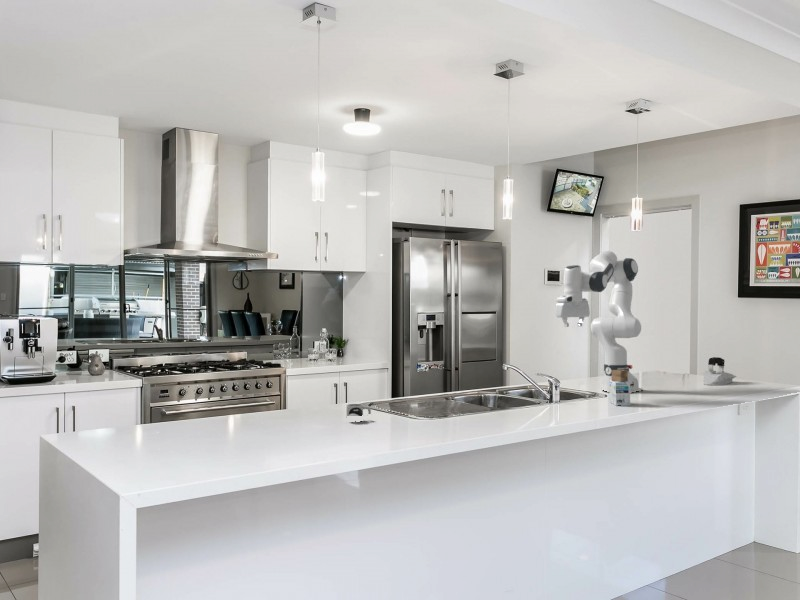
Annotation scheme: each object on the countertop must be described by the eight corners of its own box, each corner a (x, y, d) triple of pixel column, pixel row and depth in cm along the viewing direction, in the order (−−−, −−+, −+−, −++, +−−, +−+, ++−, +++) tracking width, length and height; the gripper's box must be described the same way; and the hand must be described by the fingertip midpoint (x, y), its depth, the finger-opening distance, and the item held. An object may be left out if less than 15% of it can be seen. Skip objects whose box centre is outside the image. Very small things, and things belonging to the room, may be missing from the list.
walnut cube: (618, 380, 322) (618, 369, 322) (627, 381, 318) (627, 370, 318) (611, 381, 319) (611, 370, 319) (620, 382, 315) (620, 371, 315)
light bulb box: (630, 406, 313) (630, 382, 313) (615, 406, 314) (615, 382, 314) (623, 402, 324) (623, 379, 324) (609, 402, 324) (609, 379, 324)
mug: (348, 423, 276) (348, 406, 276) (345, 420, 283) (345, 404, 283) (372, 421, 279) (372, 405, 279) (369, 419, 285) (368, 403, 285)
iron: (736, 382, 397) (736, 356, 397) (719, 386, 381) (718, 359, 381) (717, 381, 405) (717, 355, 405) (699, 384, 389) (699, 358, 389)
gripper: (582, 298, 348) (583, 325, 348) (553, 298, 337) (553, 327, 337) (592, 298, 343) (592, 326, 342) (563, 298, 331) (563, 327, 331)
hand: (573, 326), depth 339 cm, fingers open, 8 cm apart
